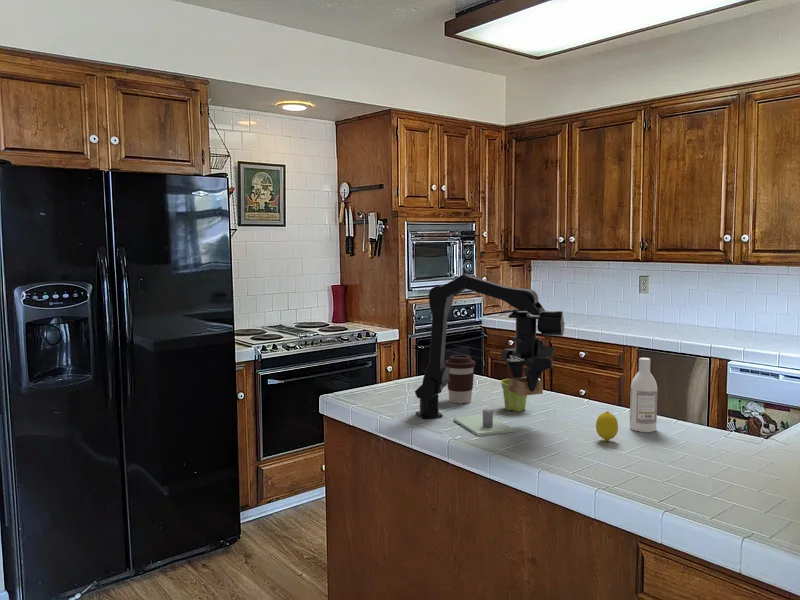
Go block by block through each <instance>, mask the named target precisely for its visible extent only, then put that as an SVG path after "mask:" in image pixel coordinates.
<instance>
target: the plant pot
mask: <svg viewBox="0 0 800 600" xmlns="http://www.w3.org/2000/svg"><path fill="white" fill-rule="evenodd" d="M500 384H501V388H502V393H503V400H504V409H506V410H507V411H514V412H521V411H524V410H525V409H526V404H527V398H528V395H525V396H520V395H518V394H515V393H513V392H511V391H509V390H508V378H505V379H502V380H500Z"/></svg>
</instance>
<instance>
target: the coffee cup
mask: <svg viewBox="0 0 800 600" xmlns="http://www.w3.org/2000/svg"><path fill="white" fill-rule="evenodd" d="M444 363H445V366H446V368H450V373H449V379H450V381H448V382H447V385H446V386H447V389H448V400H449V401H448V402H450V403H452V404H457V403H459V405H461V404H462V403H465V404H469V403H471V401H472V395H473V388H474V375H475V372H474V368H475V367H476V361H475V360H473V359H472V357H471V356H470V355H465V354H455V355H449V358H448V359H446V360H444Z"/></svg>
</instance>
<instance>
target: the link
mask: <svg viewBox="0 0 800 600" xmlns="http://www.w3.org/2000/svg"><path fill="white" fill-rule="evenodd" d="M507 379H508V390H509V391H511V392H513V393H515V394H518V395H520V396H525V395H527V396H533V395H535V396H536V395H541V394H542V395H543V394H544V393H543V391H544V389H543V387H544V382H543V380H541V379H538V381H537V384H536V387H535V390H534V391H530V389H529V386H528V382H527V378H526V376H522V377H518V378H513V377H511V378H507Z"/></svg>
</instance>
